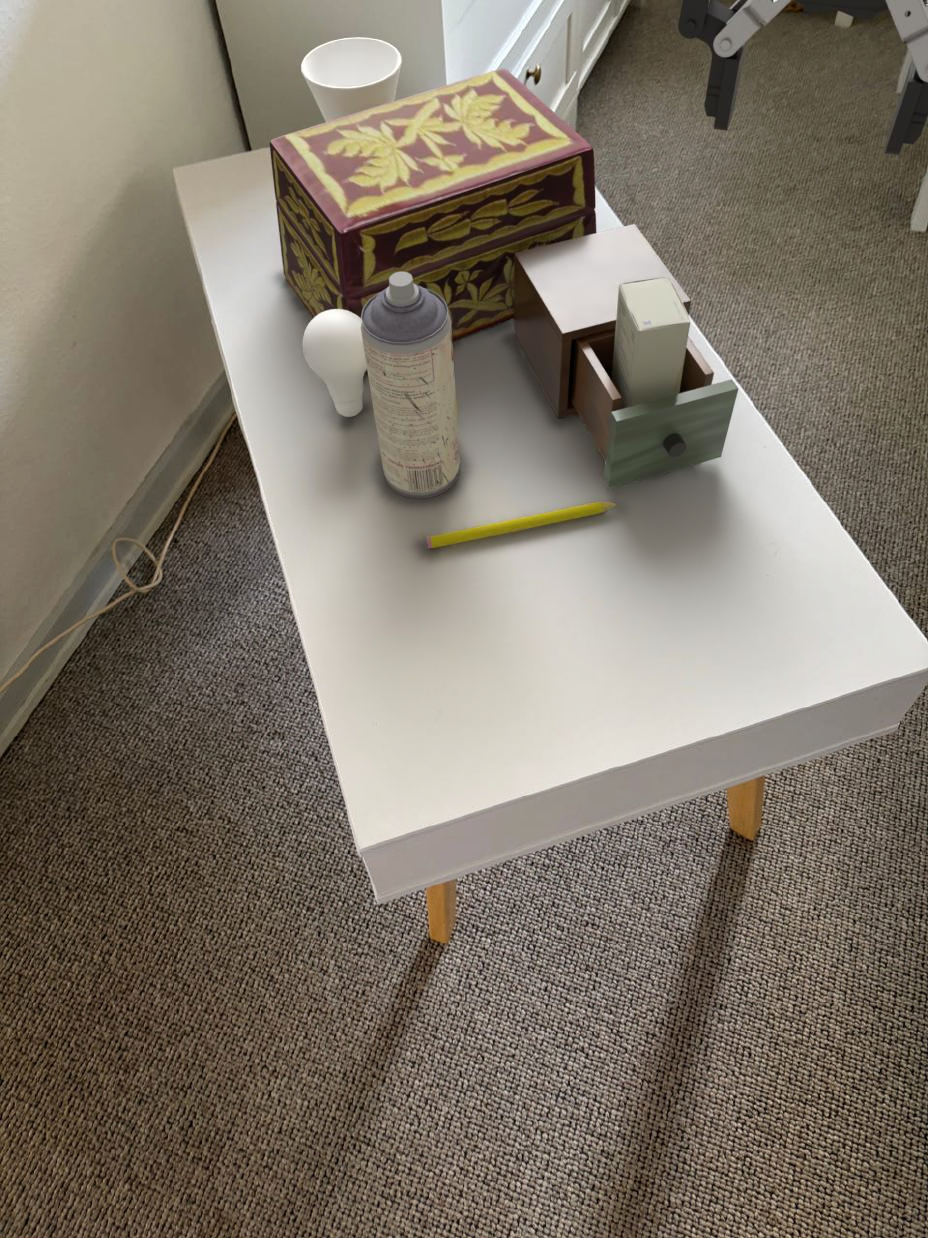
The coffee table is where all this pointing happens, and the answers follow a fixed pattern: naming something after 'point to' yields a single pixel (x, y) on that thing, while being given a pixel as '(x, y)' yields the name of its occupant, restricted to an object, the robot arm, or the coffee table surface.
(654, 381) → the cosmetic box
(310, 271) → the decorative box
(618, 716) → the coffee table surface
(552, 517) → the pencil
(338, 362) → the lightbulb
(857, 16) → the robot arm
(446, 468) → the aerosol can
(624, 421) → the drawer
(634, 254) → the cabinet
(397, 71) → the cup
